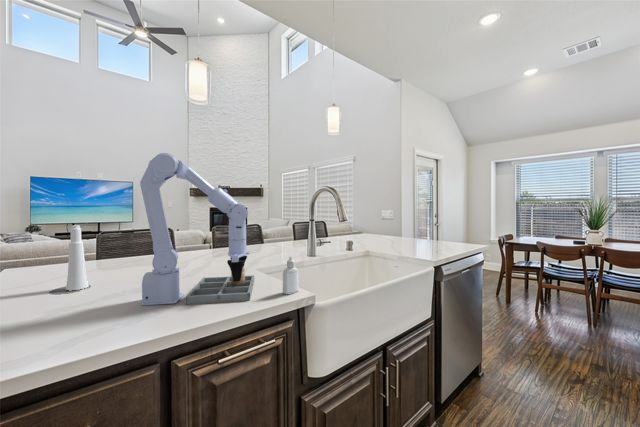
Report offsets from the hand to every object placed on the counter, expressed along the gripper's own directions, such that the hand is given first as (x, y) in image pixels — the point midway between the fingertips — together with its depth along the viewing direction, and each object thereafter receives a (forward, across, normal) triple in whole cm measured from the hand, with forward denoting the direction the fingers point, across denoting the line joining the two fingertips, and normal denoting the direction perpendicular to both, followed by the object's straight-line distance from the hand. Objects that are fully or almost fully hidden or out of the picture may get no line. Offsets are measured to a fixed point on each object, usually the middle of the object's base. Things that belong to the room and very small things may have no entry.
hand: (237, 279), depth 93 cm
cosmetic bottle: (+4, +12, +55) cm, 57 cm away
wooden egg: (+2, 0, 0) cm, 2 cm away
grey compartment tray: (+4, 0, +4) cm, 6 cm away
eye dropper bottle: (+4, -5, -18) cm, 19 cm away
